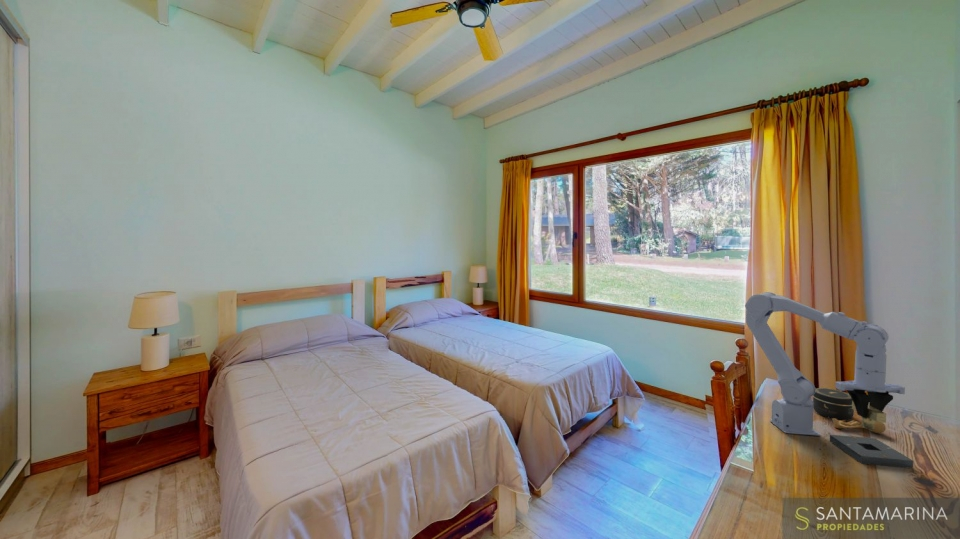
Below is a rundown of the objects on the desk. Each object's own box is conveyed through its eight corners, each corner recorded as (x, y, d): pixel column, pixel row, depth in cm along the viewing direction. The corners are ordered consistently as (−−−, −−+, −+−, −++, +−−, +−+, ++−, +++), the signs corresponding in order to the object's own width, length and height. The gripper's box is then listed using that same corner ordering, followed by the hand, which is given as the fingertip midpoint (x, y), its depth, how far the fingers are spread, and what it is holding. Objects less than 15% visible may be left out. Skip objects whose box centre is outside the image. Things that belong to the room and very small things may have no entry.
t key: (850, 420, 101) (851, 400, 101) (860, 421, 101) (861, 401, 101) (875, 434, 94) (876, 413, 93) (886, 435, 93) (887, 413, 93)
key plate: (861, 463, 92) (861, 455, 92) (829, 441, 103) (829, 434, 102) (913, 468, 90) (913, 460, 89) (874, 444, 100) (875, 437, 100)
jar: (807, 412, 121) (807, 390, 120) (819, 405, 125) (819, 385, 125) (847, 424, 112) (848, 401, 112) (858, 417, 117) (859, 395, 116)
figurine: (895, 425, 102) (841, 410, 107) (891, 445, 102) (838, 429, 107) (876, 419, 110) (827, 405, 115) (873, 438, 109) (824, 423, 114)
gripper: (850, 372, 94) (848, 420, 95) (917, 375, 91) (914, 425, 92) (830, 364, 101) (828, 409, 102) (891, 366, 98) (889, 413, 98)
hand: (868, 416), depth 97 cm, fingers closed on t key, 2 cm apart
